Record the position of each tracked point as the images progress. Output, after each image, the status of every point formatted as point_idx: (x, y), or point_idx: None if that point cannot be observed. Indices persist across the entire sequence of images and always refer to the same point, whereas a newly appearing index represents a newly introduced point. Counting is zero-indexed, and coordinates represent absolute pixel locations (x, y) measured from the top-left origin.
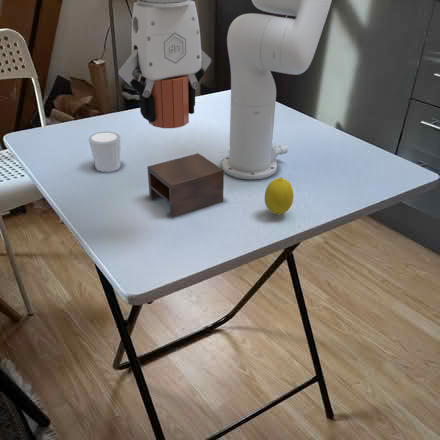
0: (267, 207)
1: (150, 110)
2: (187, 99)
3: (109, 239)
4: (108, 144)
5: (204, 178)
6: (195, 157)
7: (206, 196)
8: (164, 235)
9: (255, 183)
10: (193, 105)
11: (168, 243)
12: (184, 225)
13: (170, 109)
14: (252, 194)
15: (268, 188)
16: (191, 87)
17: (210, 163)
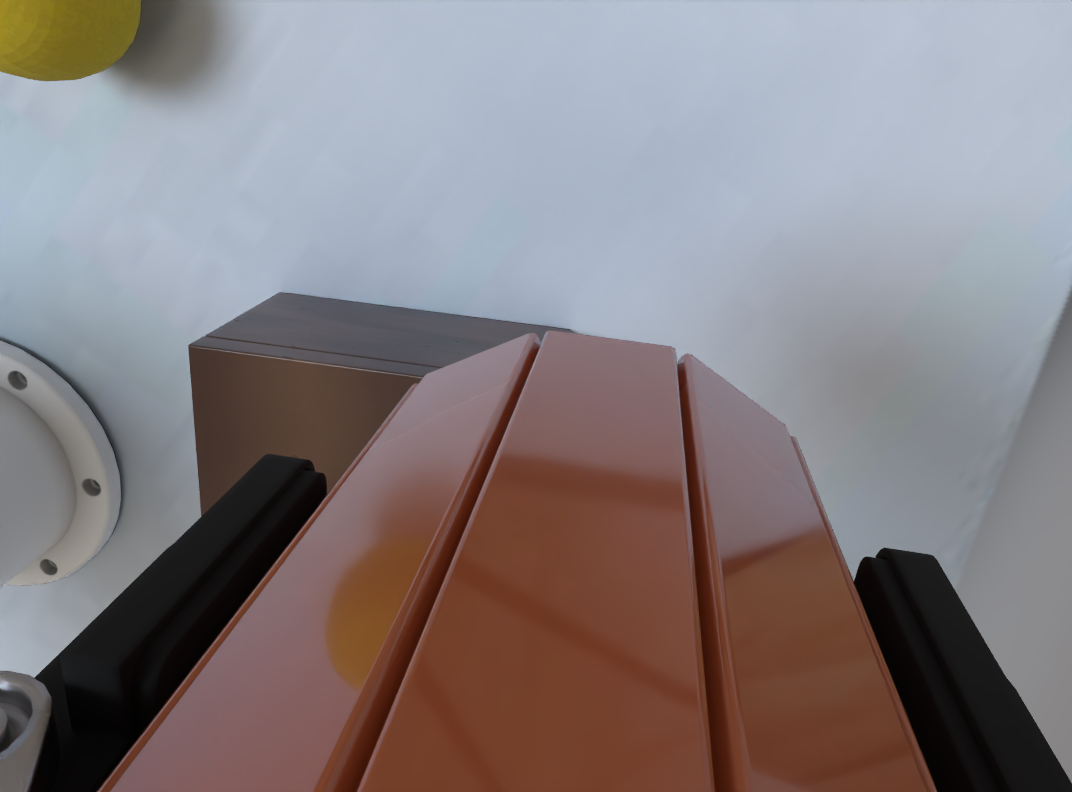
0: (139, 10)
1: (988, 667)
2: (327, 522)
3: (929, 365)
4: None
5: (330, 358)
6: None
7: (358, 320)
8: (706, 224)
9: (46, 327)
10: (230, 500)
11: (740, 148)
12: (569, 236)
13: (734, 486)
14: (115, 253)
15: (57, 13)
16: (62, 738)
17: (212, 456)
